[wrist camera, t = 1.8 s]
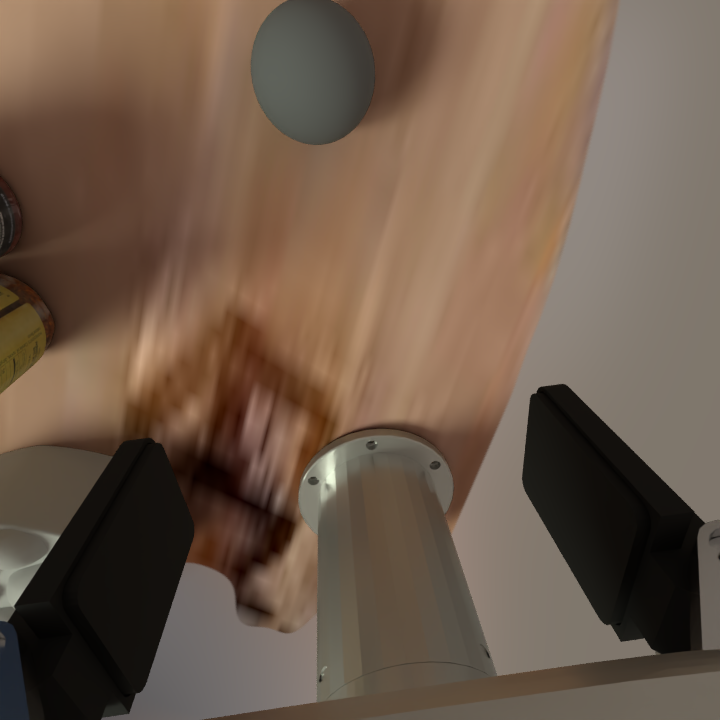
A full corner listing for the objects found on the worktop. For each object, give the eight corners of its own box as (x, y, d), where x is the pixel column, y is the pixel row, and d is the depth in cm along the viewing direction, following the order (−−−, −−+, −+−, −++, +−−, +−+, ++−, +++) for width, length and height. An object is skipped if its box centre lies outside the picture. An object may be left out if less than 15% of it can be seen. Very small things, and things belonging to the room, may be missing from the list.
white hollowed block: (150, 553, 37) (105, 662, 29) (-20, 531, 34) (-119, 645, 26) (162, 462, 32) (114, 563, 25) (-32, 429, 30) (-154, 530, 22)
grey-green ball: (372, 138, 23) (386, 138, 18) (270, 149, 23) (257, 152, 18) (363, 9, 21) (377, -32, 16) (248, 20, 20) (225, -18, 16)
